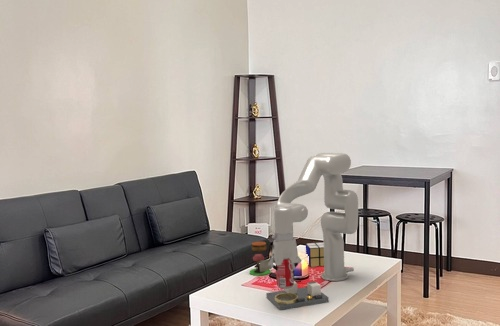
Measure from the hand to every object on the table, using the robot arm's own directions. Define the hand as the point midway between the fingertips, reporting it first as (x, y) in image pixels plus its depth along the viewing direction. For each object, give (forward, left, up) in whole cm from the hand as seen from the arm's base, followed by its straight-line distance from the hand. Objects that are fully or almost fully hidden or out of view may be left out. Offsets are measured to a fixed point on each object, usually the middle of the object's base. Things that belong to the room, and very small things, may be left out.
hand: (285, 278), depth 228 cm
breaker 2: (-13, -1, -9) cm, 16 cm away
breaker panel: (-6, -3, -11) cm, 13 cm away
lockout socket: (0, 0, -9) cm, 9 cm away
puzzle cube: (-36, -46, -11) cm, 60 cm away
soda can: (0, 0, -3) cm, 3 cm away
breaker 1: (-5, -7, -9) cm, 12 cm away
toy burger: (-4, -45, -11) cm, 47 cm away
